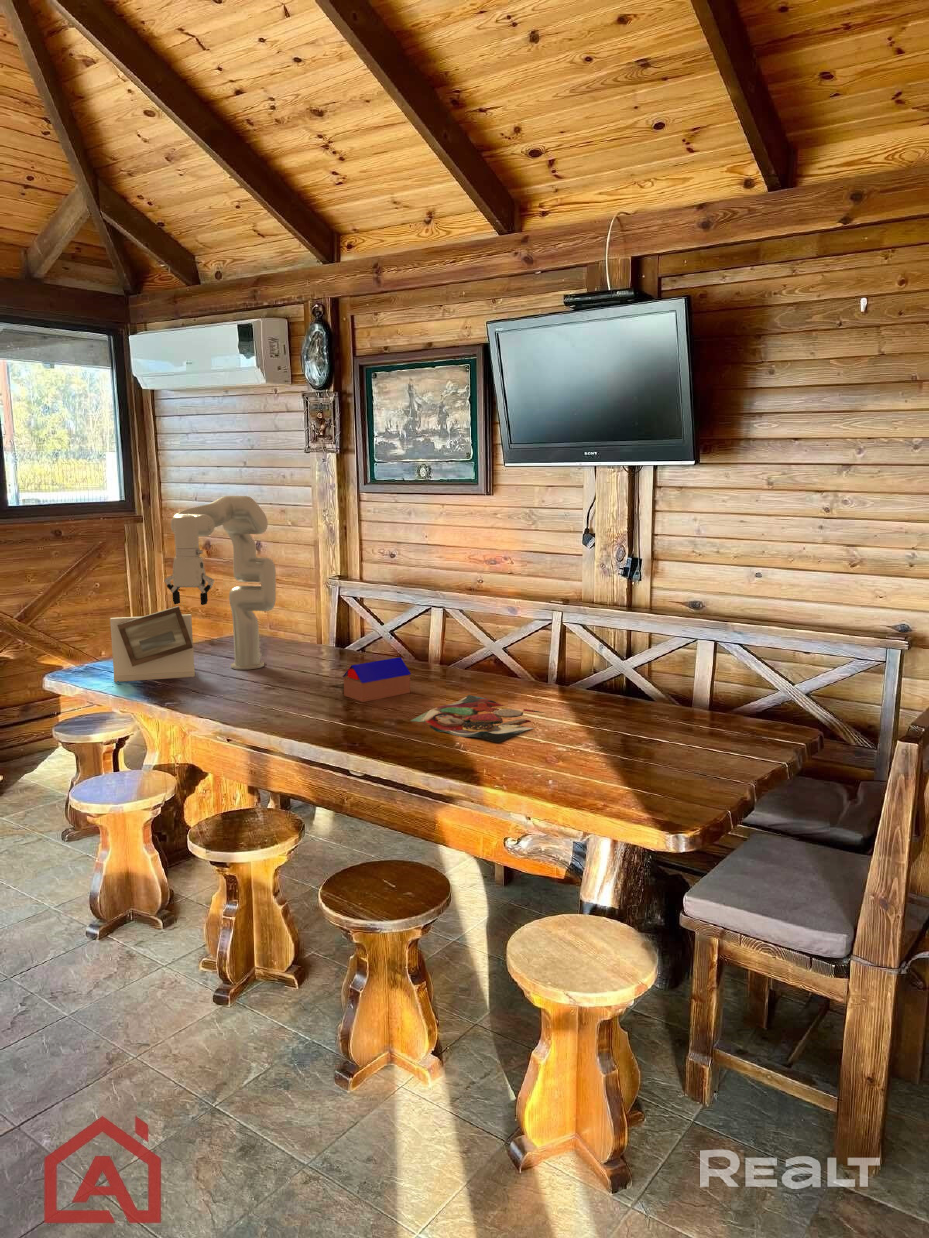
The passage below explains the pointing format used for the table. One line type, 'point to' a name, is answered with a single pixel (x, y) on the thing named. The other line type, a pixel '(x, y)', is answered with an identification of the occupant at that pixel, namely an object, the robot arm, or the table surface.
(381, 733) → the table surface
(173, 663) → the display board
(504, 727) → the platter
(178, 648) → the picture frame
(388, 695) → the house
